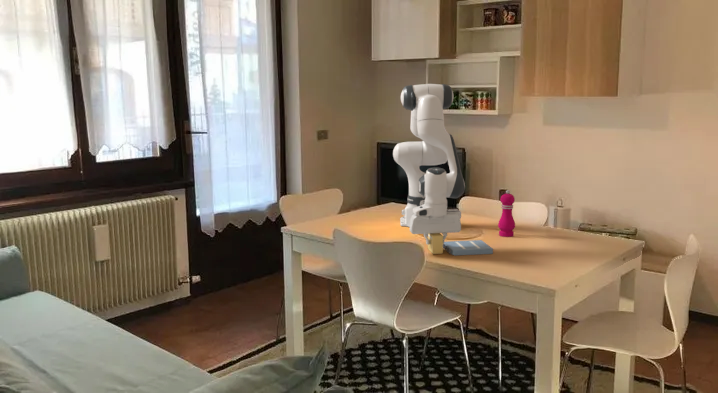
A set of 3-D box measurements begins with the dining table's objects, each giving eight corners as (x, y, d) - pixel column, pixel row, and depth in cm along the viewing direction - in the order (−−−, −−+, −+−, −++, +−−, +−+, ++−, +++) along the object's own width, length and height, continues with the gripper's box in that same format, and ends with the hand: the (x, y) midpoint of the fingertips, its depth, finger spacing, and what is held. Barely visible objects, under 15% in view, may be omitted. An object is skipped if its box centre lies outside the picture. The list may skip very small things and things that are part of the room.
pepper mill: (494, 234, 290) (496, 189, 287) (508, 232, 293) (510, 188, 289) (503, 237, 284) (505, 191, 280) (518, 236, 286) (519, 190, 282)
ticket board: (441, 246, 270) (441, 241, 270) (481, 244, 272) (481, 239, 272) (451, 255, 256) (451, 250, 256) (492, 253, 259) (492, 248, 258)
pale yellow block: (427, 248, 266) (427, 231, 265) (437, 248, 267) (437, 231, 265) (432, 253, 258) (432, 236, 257) (442, 253, 259) (443, 236, 258)
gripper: (458, 207, 264) (458, 240, 267) (408, 208, 261) (408, 243, 263) (463, 210, 258) (462, 244, 260) (412, 212, 255) (412, 247, 257)
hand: (435, 243), depth 262 cm, fingers closed on pale yellow block, 4 cm apart
